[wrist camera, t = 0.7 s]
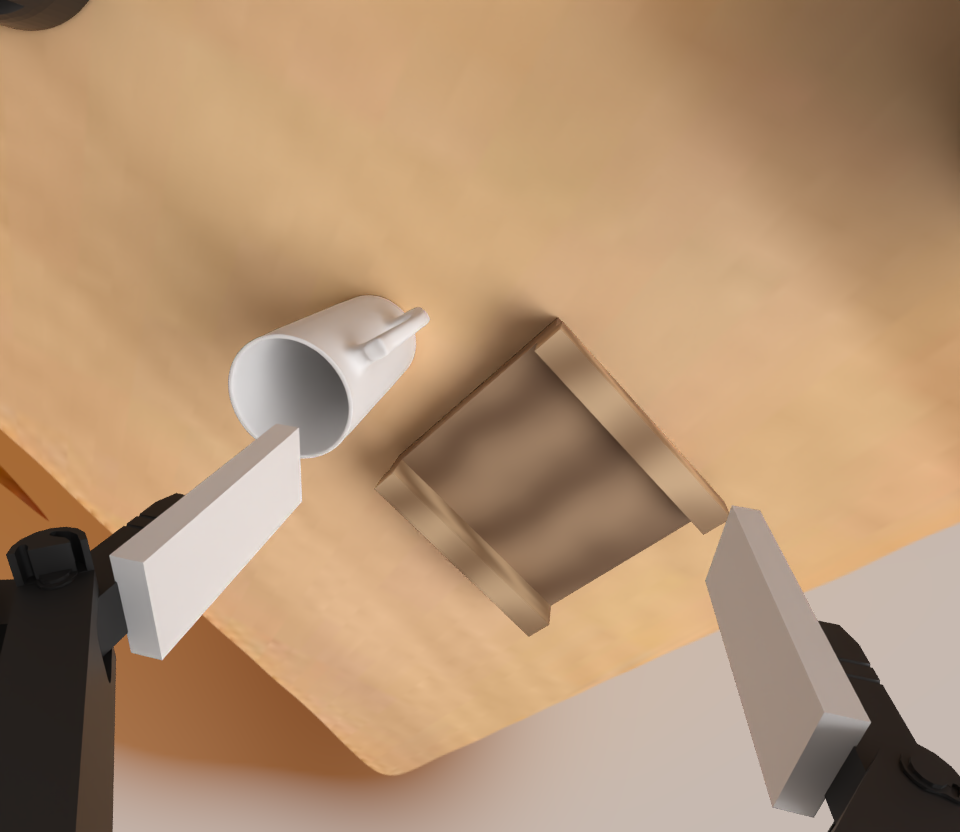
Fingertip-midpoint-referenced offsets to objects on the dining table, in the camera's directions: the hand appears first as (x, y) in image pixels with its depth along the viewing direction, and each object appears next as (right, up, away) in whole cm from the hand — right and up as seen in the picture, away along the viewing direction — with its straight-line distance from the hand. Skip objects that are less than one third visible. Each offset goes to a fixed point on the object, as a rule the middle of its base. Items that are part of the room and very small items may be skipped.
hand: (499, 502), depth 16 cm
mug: (-7, +9, +21) cm, 24 cm away
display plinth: (+4, -1, +23) cm, 24 cm away
